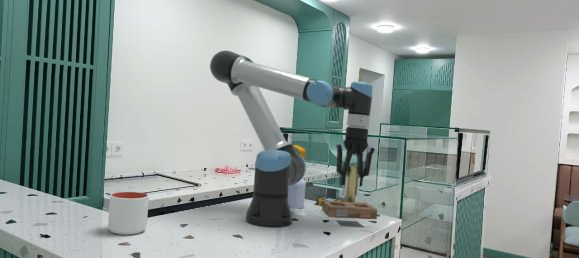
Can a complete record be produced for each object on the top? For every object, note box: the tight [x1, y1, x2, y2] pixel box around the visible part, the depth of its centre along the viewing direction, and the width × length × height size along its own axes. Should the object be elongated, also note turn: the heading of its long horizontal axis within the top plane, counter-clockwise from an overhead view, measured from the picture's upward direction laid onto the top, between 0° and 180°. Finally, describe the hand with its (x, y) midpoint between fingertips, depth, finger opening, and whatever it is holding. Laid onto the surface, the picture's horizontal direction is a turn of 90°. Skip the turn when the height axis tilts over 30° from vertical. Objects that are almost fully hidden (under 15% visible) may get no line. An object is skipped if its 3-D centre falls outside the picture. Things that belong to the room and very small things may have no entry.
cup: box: [107, 191, 150, 236], centre depth 114 cm, size 10×10×10 cm
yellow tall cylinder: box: [343, 165, 359, 202], centre depth 142 cm, size 4×4×12 cm
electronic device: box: [315, 196, 346, 207], centre depth 171 cm, size 8×16×3 cm, turn 57°
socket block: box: [321, 201, 378, 220], centre depth 157 cm, size 12×18×4 cm
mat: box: [335, 219, 365, 228], centre depth 142 cm, size 8×8×1 cm
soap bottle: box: [288, 144, 307, 210], centre depth 165 cm, size 9×9×25 cm
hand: (350, 194), depth 142 cm, fingers closed on yellow tall cylinder, 3 cm apart
